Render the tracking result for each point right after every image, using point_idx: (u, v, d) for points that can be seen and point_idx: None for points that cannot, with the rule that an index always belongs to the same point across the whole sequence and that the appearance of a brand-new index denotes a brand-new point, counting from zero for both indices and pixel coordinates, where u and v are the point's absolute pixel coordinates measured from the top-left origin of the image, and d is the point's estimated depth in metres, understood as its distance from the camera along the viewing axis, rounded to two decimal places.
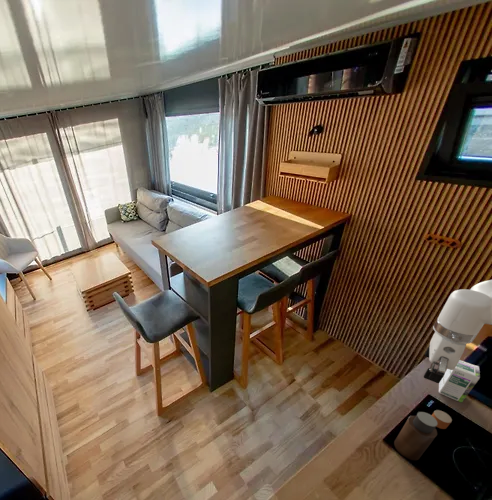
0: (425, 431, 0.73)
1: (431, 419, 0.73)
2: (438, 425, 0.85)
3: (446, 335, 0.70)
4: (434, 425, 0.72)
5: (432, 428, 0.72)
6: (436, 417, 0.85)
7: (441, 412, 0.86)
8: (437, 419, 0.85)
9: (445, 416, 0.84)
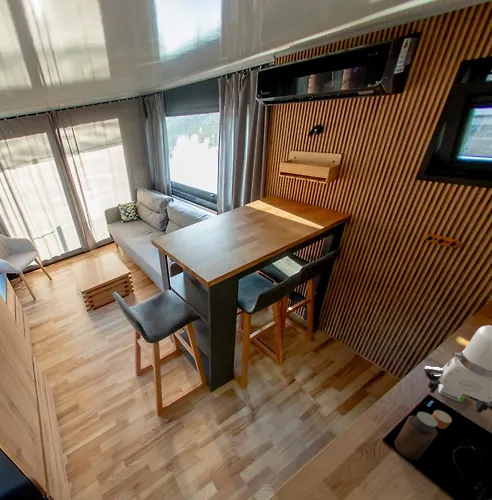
0: (425, 431, 0.73)
1: (431, 419, 0.73)
2: (438, 425, 0.85)
3: None
4: (434, 425, 0.72)
5: (432, 428, 0.72)
6: (436, 417, 0.85)
7: (441, 412, 0.86)
8: (437, 419, 0.85)
9: (445, 416, 0.84)
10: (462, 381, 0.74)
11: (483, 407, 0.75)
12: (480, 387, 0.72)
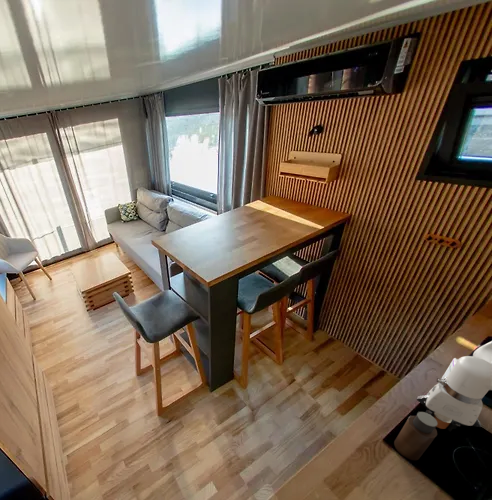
0: (425, 431, 0.73)
1: (431, 419, 0.73)
2: (438, 425, 0.85)
3: None
4: (434, 425, 0.72)
5: (432, 428, 0.72)
6: (436, 417, 0.85)
7: None
8: (437, 419, 0.85)
9: (445, 416, 0.84)
10: (446, 406, 0.80)
11: (452, 426, 0.83)
12: (462, 412, 0.78)
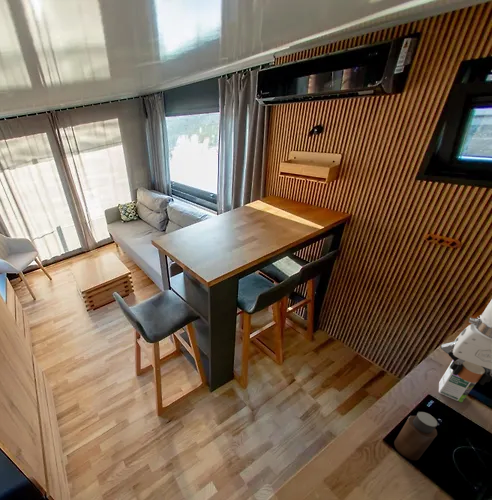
0: (425, 431, 0.73)
1: (431, 419, 0.73)
2: (468, 378, 0.70)
3: None
4: (434, 425, 0.72)
5: (432, 428, 0.72)
6: (466, 368, 0.70)
7: (471, 363, 0.70)
8: (466, 371, 0.69)
9: (477, 367, 0.69)
10: (479, 351, 0.65)
11: (486, 378, 0.67)
12: None
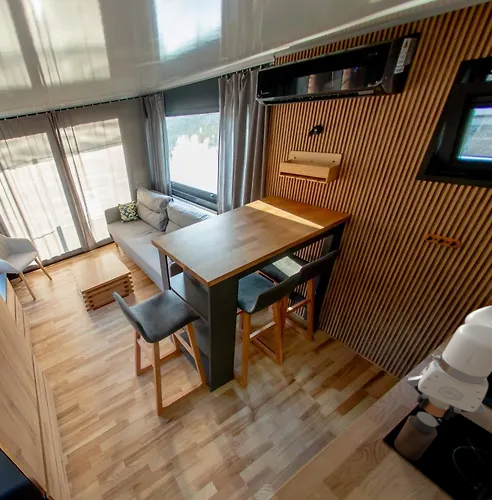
0: (425, 431, 0.73)
1: (431, 419, 0.73)
2: (433, 412, 0.70)
3: None
4: (434, 425, 0.72)
5: (432, 428, 0.72)
6: (431, 403, 0.69)
7: None
8: (432, 405, 0.69)
9: (441, 402, 0.69)
10: (442, 388, 0.65)
11: (450, 414, 0.67)
12: (462, 395, 0.63)
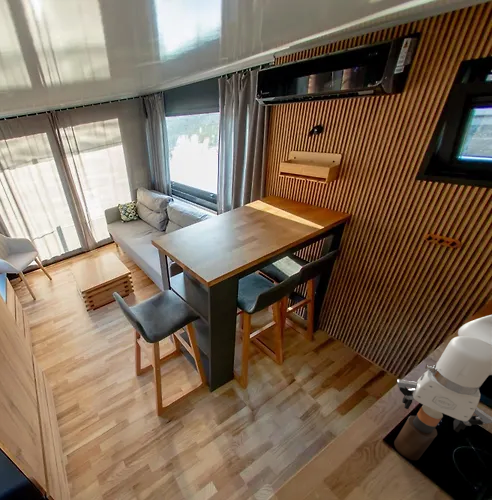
0: (425, 431, 0.73)
1: None
2: (427, 422, 0.72)
3: None
4: None
5: (432, 428, 0.72)
6: (425, 412, 0.72)
7: None
8: (425, 415, 0.72)
9: (435, 411, 0.71)
10: (436, 397, 0.67)
11: (460, 426, 0.67)
12: (455, 405, 0.65)
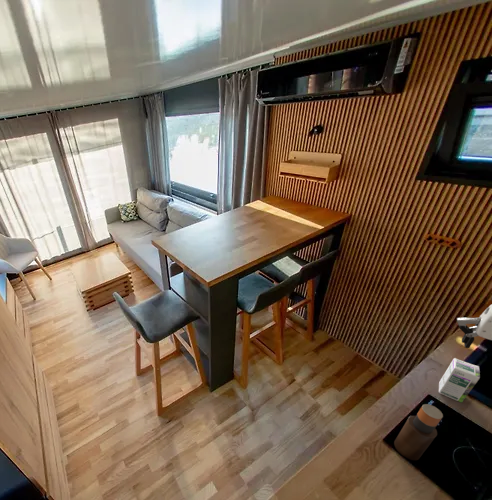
0: (425, 431, 0.73)
1: None
2: (427, 422, 0.72)
3: None
4: None
5: (432, 428, 0.72)
6: (425, 412, 0.72)
7: (430, 406, 0.72)
8: (425, 415, 0.72)
9: (435, 411, 0.71)
10: None
11: None
12: None
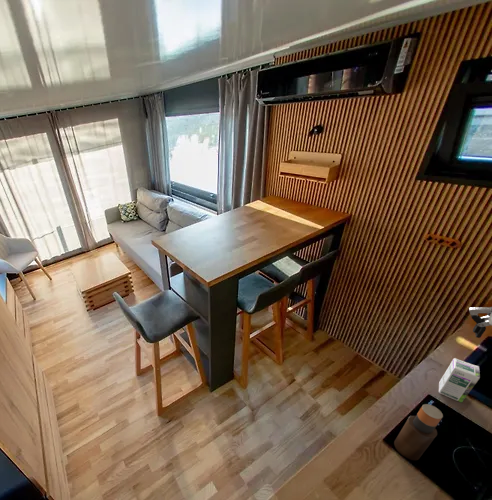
0: (425, 431, 0.73)
1: None
2: (427, 422, 0.72)
3: None
4: None
5: (432, 428, 0.72)
6: (425, 412, 0.72)
7: (430, 406, 0.72)
8: (425, 415, 0.72)
9: (435, 411, 0.71)
10: None
11: None
12: None
